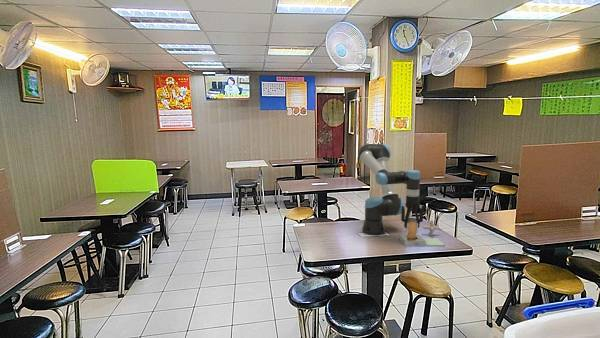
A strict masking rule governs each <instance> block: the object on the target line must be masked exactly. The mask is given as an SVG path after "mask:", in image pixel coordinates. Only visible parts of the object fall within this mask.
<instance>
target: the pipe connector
mask: <svg viewBox="0 0 600 338" xmlns="http://www.w3.org/2000/svg"><path fill="white" fill-rule="evenodd" d="M422 228H423V229H424V230H429V236H431V237H432V236H434V235H433V234H434V232H435V230H441V227H440V226H434V220H433V219H430V220H429V224H428V225H423V226H422Z"/></svg>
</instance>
